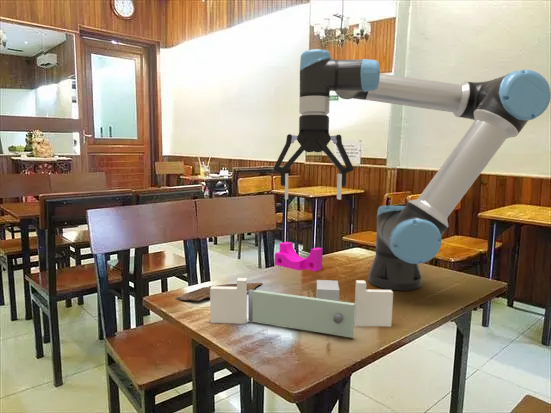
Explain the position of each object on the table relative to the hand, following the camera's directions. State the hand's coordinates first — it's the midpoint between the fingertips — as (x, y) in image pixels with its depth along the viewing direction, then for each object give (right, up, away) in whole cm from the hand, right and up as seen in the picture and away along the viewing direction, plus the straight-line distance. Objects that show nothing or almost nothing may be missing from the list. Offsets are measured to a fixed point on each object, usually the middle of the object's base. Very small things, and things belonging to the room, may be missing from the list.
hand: (312, 199), depth 108 cm
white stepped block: (+2, -29, -12) cm, 31 cm away
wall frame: (-4, -28, -13) cm, 32 cm away
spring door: (-5, -28, -18) cm, 34 cm away
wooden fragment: (-21, -27, +3) cm, 35 cm away
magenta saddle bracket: (-2, -23, +32) cm, 39 cm away
